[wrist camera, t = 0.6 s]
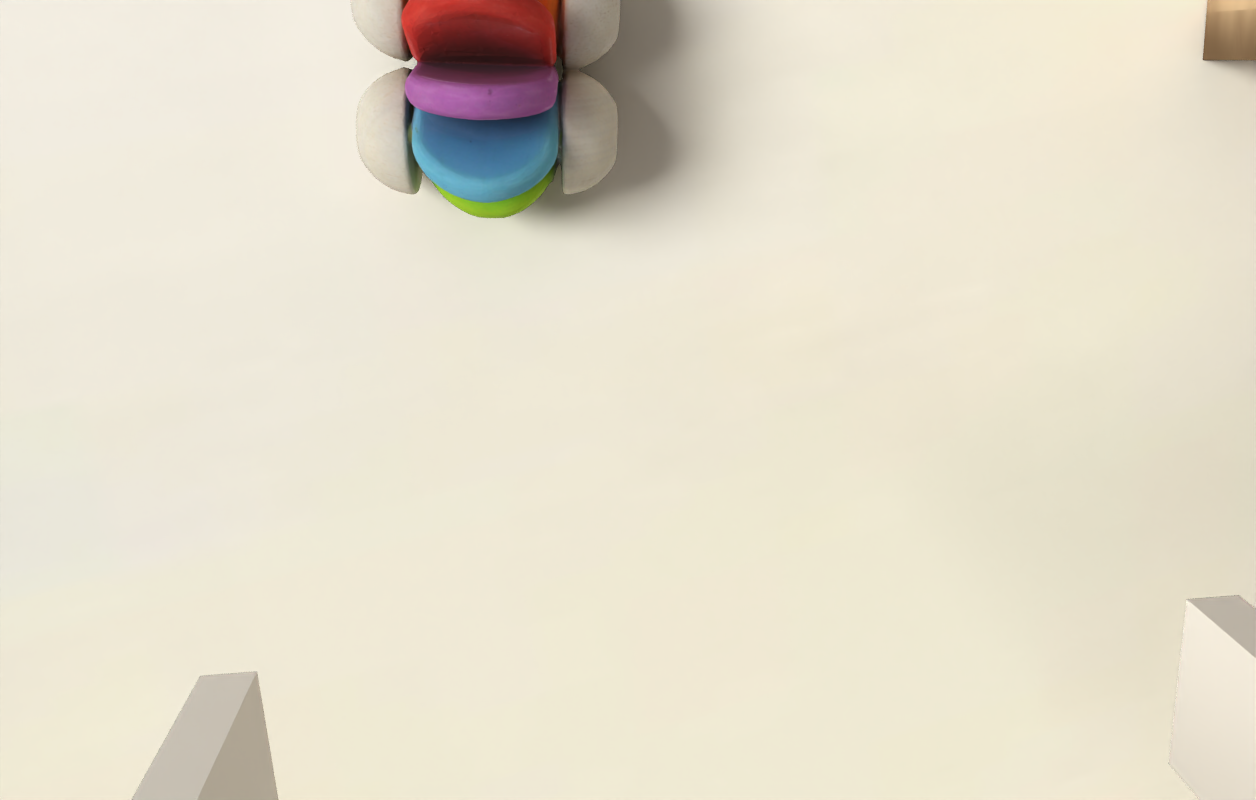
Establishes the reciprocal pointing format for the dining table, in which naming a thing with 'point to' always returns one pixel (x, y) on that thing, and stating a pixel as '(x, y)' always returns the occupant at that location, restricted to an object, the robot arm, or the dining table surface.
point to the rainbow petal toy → (488, 98)
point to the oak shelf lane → (1230, 30)
